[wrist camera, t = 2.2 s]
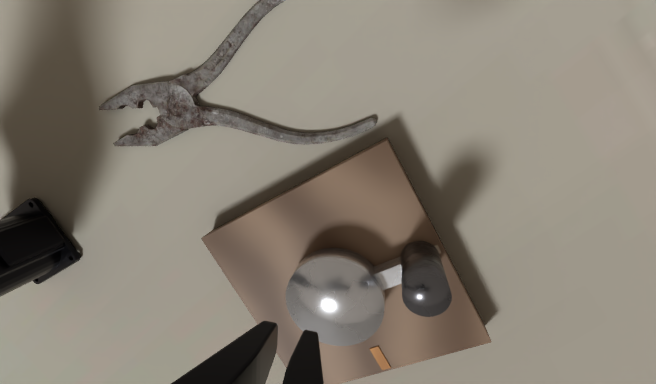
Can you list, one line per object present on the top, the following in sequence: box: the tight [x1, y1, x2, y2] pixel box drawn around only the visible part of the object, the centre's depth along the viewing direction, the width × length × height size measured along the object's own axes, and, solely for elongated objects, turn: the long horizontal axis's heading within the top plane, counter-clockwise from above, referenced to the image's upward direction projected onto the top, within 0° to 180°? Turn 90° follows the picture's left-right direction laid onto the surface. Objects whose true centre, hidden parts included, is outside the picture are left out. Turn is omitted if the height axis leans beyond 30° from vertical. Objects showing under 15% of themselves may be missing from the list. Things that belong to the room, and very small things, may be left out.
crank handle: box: [286, 241, 452, 346], centre depth 19 cm, size 10×6×4 cm, turn 120°
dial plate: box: [201, 138, 491, 384], centre depth 22 cm, size 15×15×2 cm
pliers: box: [99, 0, 377, 146], centre depth 21 cm, size 10×1×20 cm
